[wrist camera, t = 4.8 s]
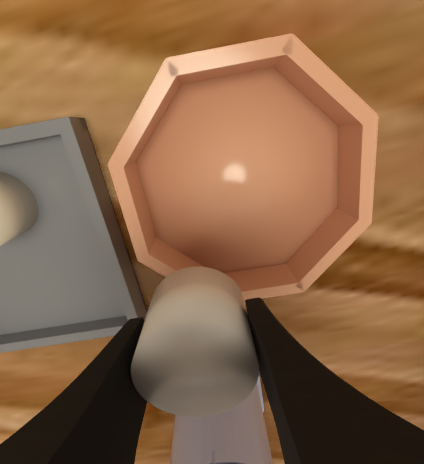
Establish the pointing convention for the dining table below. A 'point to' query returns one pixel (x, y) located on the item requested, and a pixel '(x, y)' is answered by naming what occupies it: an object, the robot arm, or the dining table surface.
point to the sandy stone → (15, 208)
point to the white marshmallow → (195, 345)
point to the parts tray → (63, 243)
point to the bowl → (247, 166)
